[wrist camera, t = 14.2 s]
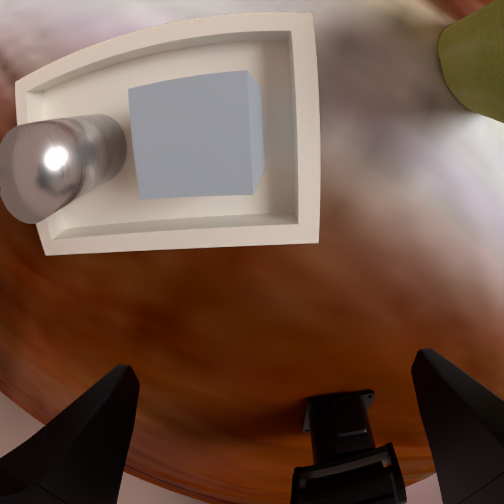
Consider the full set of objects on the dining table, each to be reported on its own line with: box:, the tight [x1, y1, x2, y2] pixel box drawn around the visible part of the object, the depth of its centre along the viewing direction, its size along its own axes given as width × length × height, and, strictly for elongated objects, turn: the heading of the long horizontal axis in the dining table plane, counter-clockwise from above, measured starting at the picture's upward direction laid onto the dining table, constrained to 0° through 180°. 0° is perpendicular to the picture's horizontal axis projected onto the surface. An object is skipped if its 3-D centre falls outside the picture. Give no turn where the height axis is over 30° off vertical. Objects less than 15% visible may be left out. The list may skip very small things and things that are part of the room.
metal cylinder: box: [0, 114, 127, 224], centre depth 11 cm, size 4×4×6 cm
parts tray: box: [15, 12, 320, 256], centre depth 13 cm, size 11×16×2 cm
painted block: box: [128, 70, 265, 200], centre depth 11 cm, size 4×4×5 cm
